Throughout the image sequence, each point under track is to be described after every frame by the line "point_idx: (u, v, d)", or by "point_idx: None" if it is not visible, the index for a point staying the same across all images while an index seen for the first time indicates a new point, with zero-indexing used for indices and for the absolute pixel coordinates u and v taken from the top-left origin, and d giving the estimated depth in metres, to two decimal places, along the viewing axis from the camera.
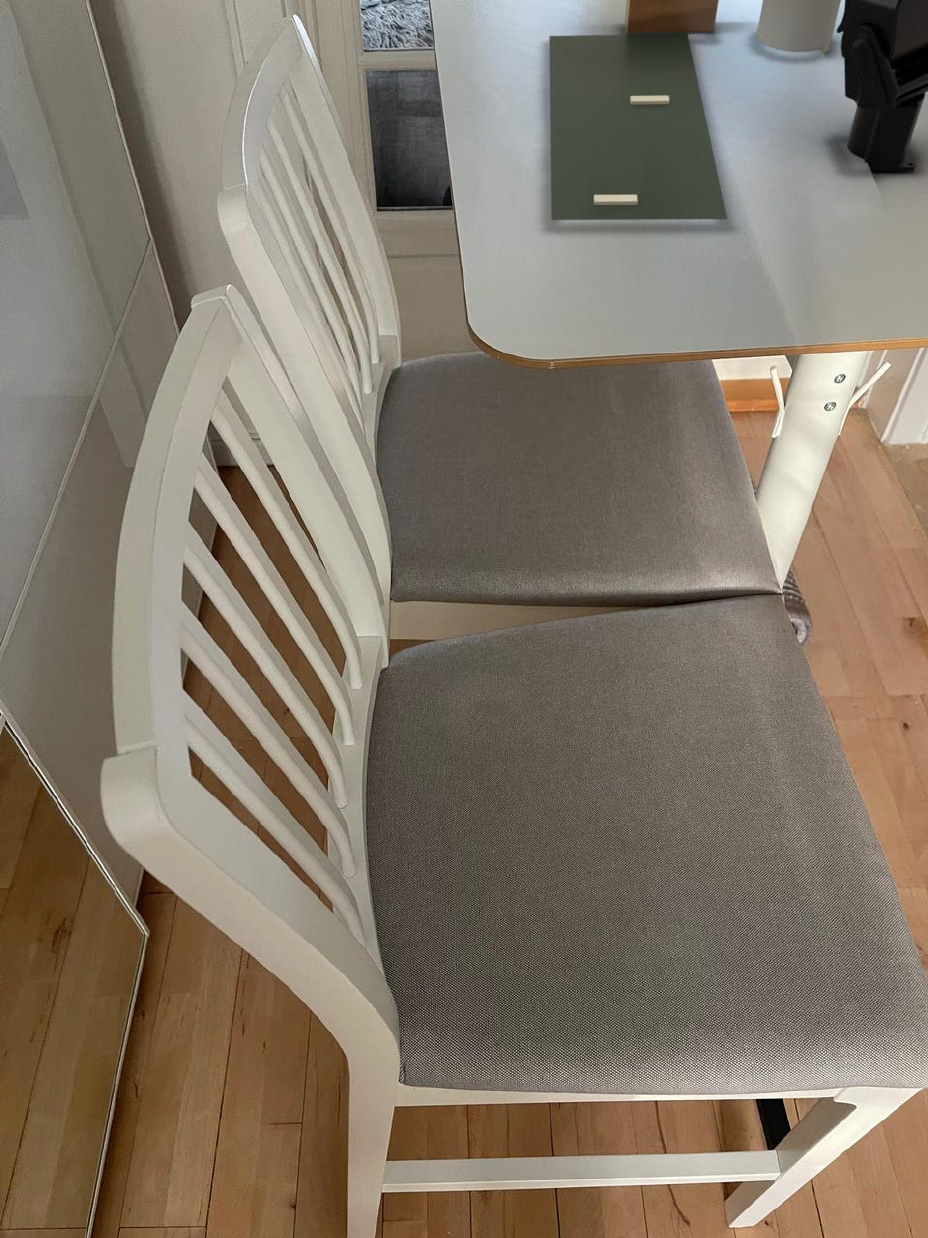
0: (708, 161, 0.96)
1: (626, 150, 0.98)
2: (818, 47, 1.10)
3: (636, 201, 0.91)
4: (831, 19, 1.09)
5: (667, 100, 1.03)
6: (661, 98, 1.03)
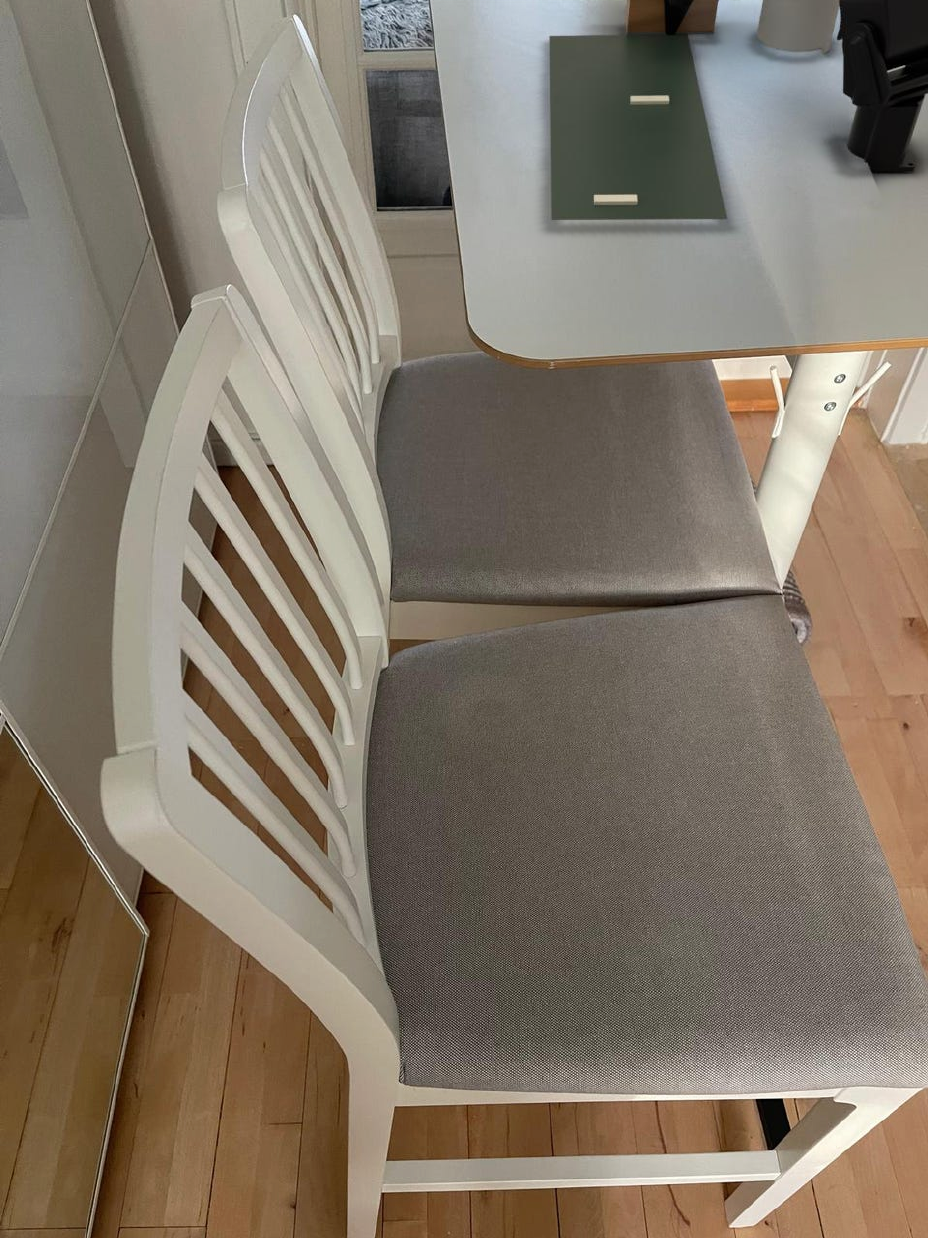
0: (708, 161, 0.96)
1: (626, 150, 0.98)
2: (818, 47, 1.10)
3: (636, 201, 0.91)
4: (831, 19, 1.09)
5: (667, 100, 1.03)
6: (661, 98, 1.03)
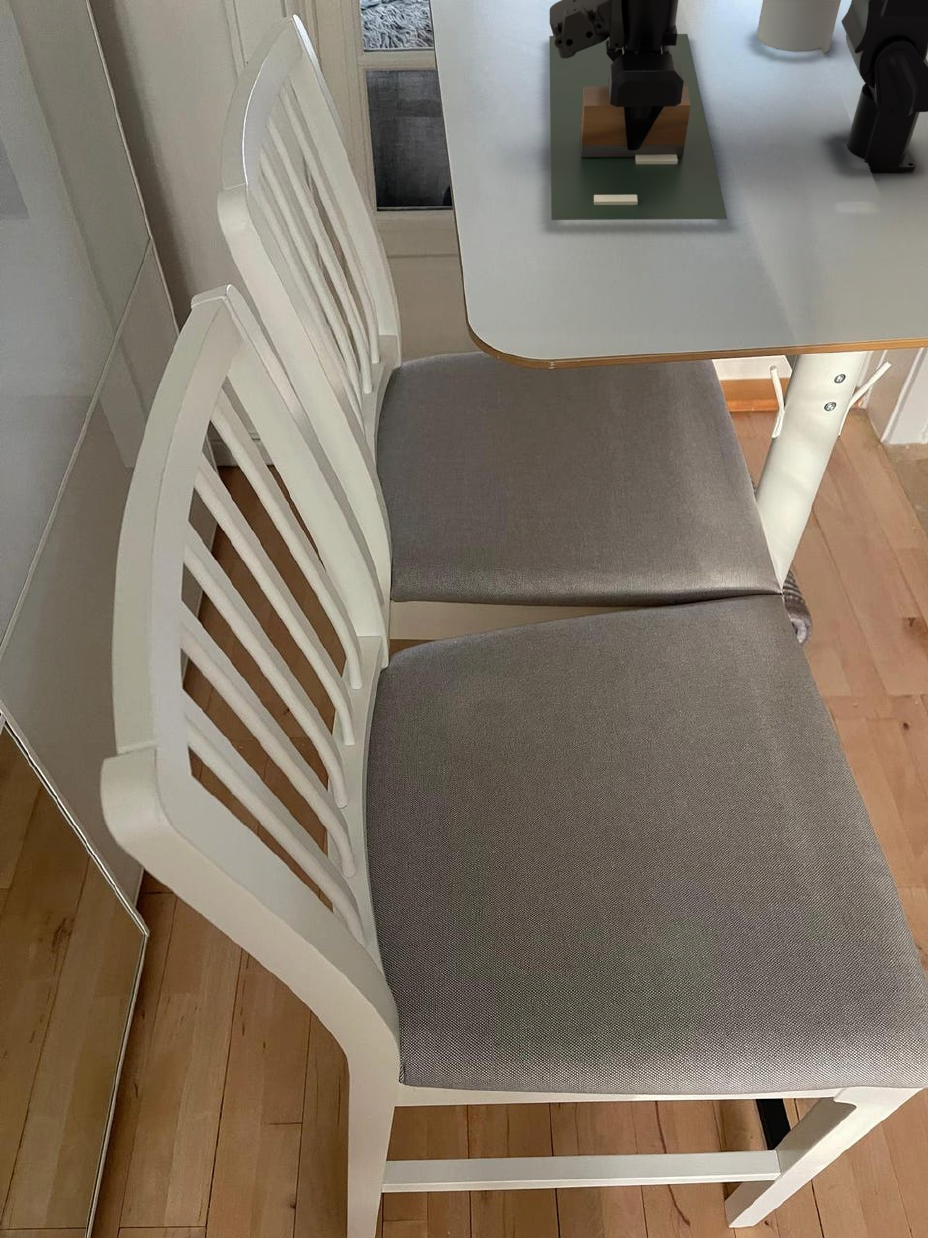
0: (708, 161, 0.96)
1: None
2: (818, 47, 1.10)
3: (636, 201, 0.91)
4: (831, 19, 1.09)
5: (675, 160, 0.96)
6: (669, 157, 0.96)
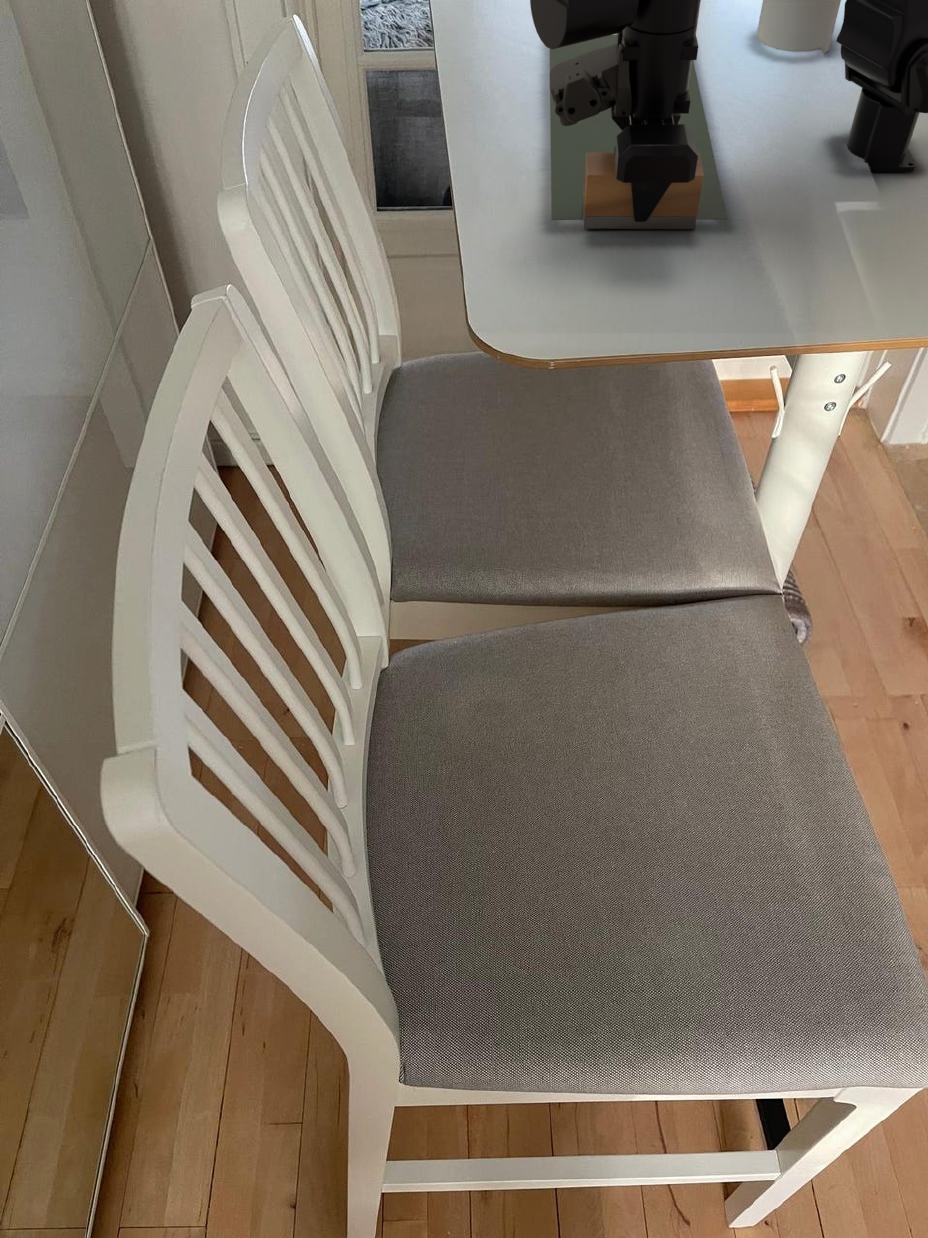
0: (708, 161, 0.96)
1: None
2: (818, 47, 1.10)
3: None
4: (831, 19, 1.09)
5: None
6: None
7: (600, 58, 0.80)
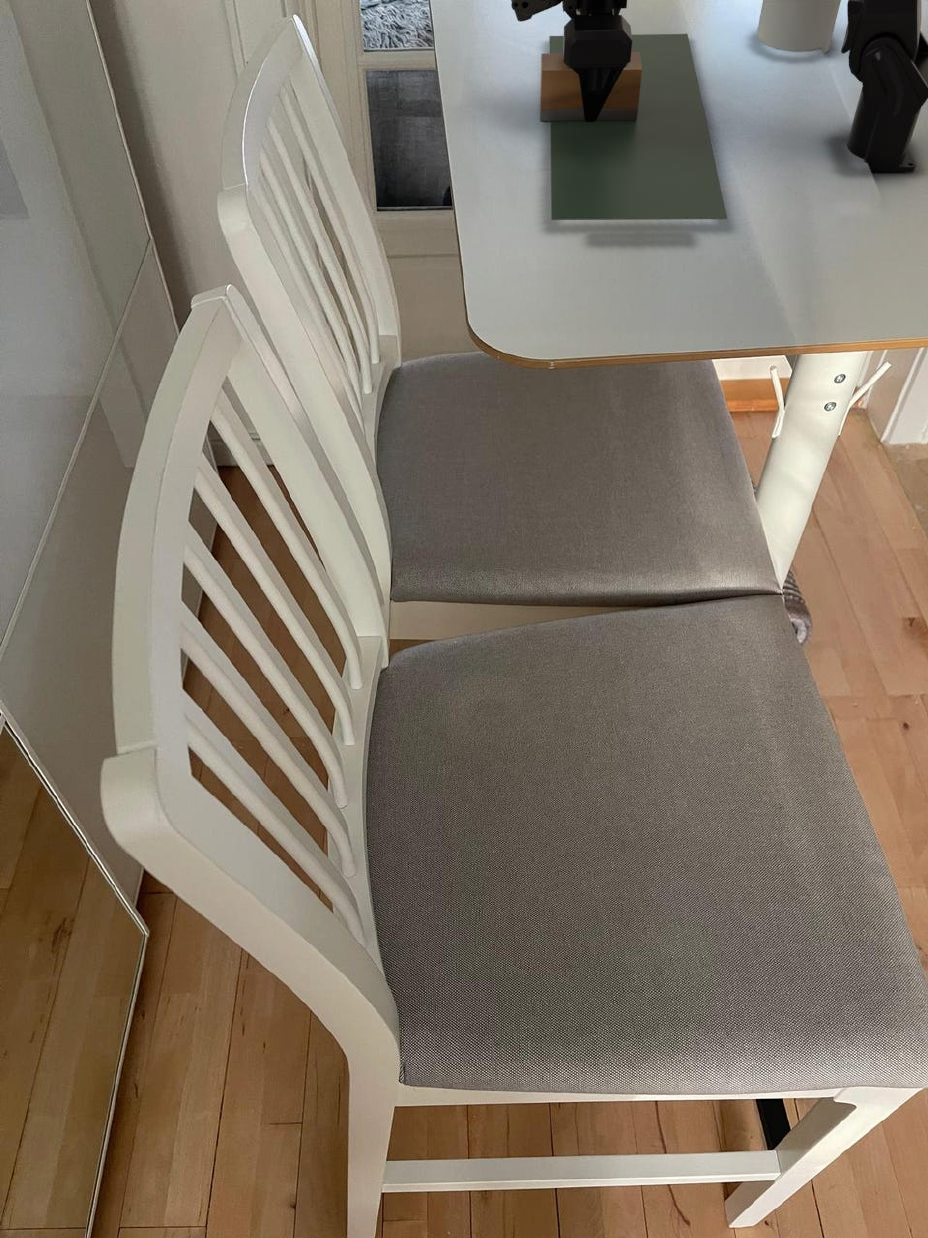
0: (708, 161, 0.96)
1: (626, 150, 0.98)
2: (818, 47, 1.10)
3: None
4: (831, 19, 1.09)
5: None
6: None
7: None
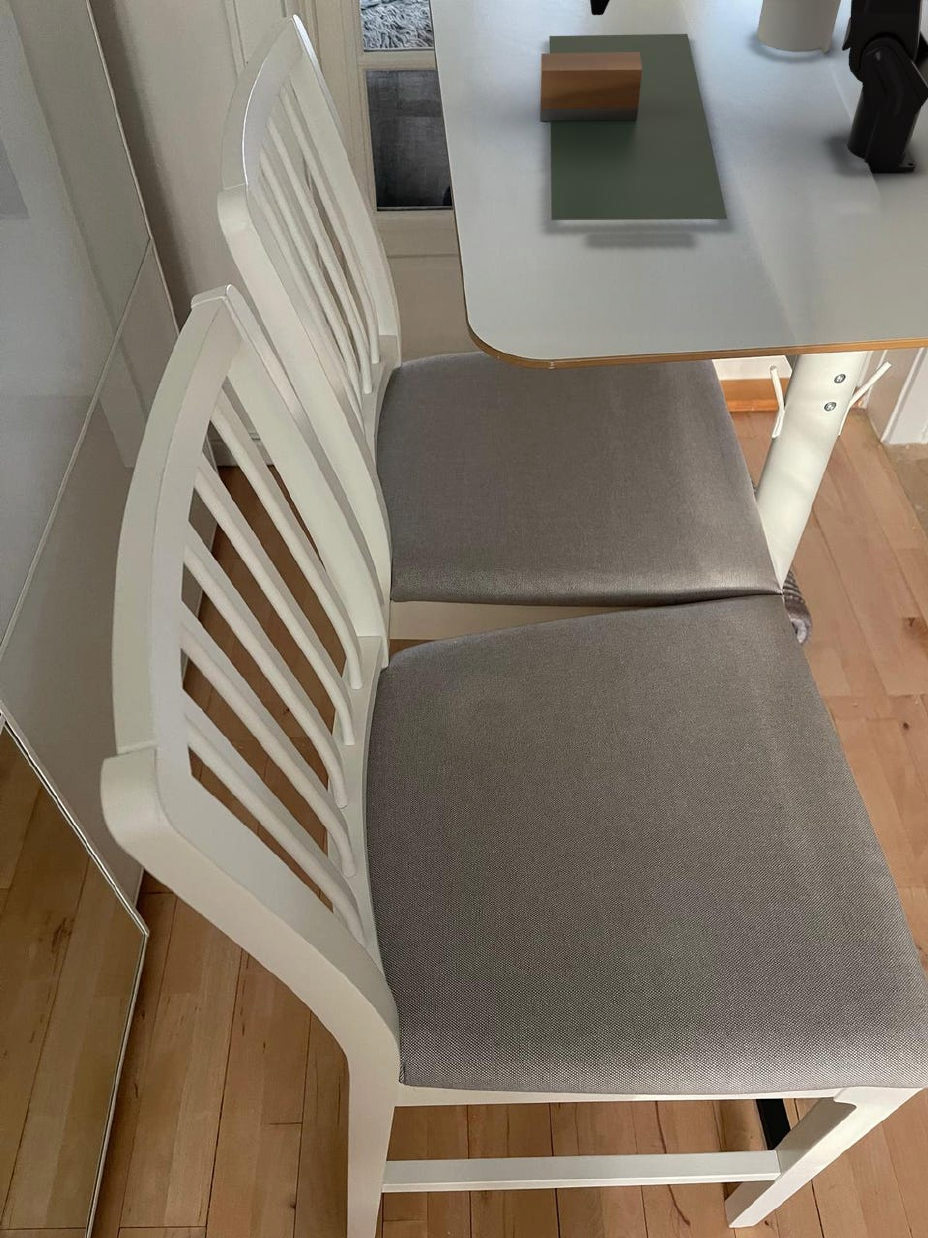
0: (708, 161, 0.96)
1: (626, 150, 0.98)
2: (818, 47, 1.10)
3: None
4: (831, 19, 1.09)
5: None
6: None
7: None
